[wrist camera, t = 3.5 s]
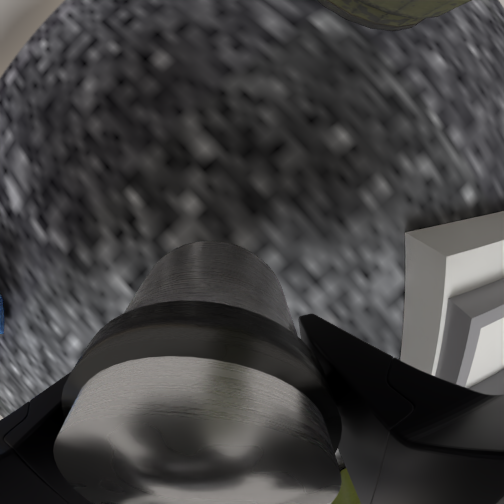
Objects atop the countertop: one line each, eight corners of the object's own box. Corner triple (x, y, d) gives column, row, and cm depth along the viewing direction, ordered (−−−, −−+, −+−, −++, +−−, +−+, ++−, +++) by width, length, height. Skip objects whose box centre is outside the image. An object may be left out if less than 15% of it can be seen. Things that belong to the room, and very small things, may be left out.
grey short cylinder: (280, 215, 10) (370, 358, 3) (301, 358, 11) (350, 523, 5) (112, 251, 10) (-19, 391, 3) (162, 380, 11) (128, 536, 5)
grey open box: (508, 209, 15) (571, 234, 10) (483, 360, 20) (521, 401, 14) (404, 232, 15) (473, 273, 10) (394, 398, 20) (426, 455, 14)
